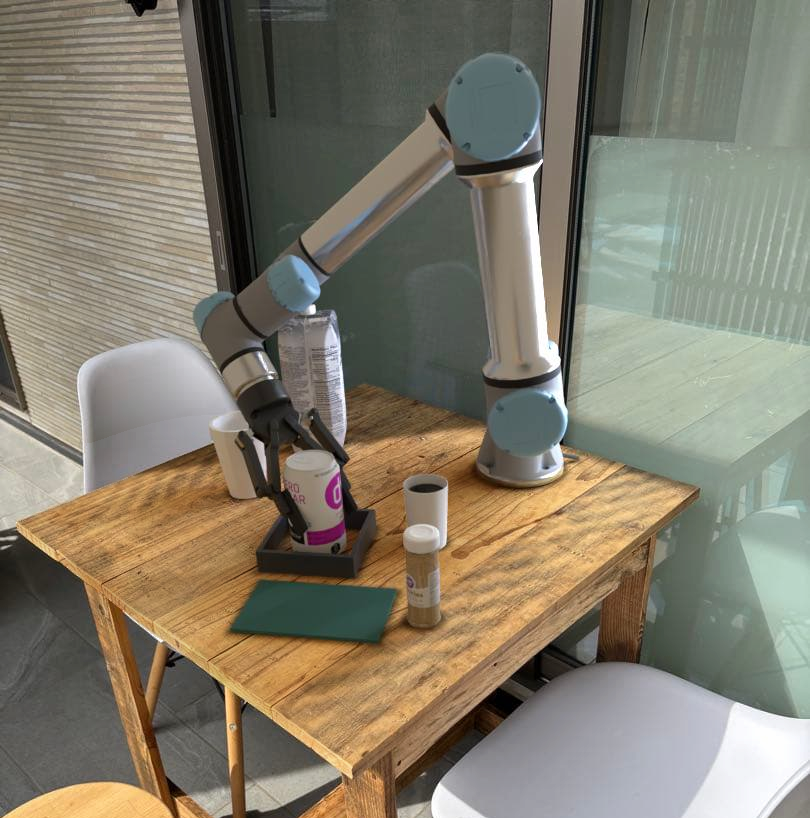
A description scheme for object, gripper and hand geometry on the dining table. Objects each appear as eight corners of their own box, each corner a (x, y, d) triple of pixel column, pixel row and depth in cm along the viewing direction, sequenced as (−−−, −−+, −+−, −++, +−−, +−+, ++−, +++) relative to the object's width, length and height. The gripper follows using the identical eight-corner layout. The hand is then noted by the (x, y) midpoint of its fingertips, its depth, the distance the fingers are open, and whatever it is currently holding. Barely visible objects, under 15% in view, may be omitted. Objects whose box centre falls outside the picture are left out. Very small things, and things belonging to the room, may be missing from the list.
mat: (397, 592, 118) (396, 588, 118) (378, 644, 108) (378, 640, 108) (260, 582, 122) (260, 579, 122) (230, 632, 112) (229, 628, 111)
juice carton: (346, 458, 157) (333, 313, 144) (290, 460, 158) (272, 316, 144) (349, 439, 165) (337, 299, 152) (295, 441, 166) (279, 302, 152)
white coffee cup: (418, 557, 126) (416, 498, 121) (398, 538, 131) (395, 480, 126) (457, 545, 128) (456, 486, 123) (436, 527, 134) (434, 469, 129)
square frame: (376, 528, 134) (375, 509, 132) (355, 578, 122) (353, 557, 120) (288, 523, 137) (286, 504, 135) (258, 572, 124) (255, 551, 123)
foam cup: (280, 478, 151) (271, 410, 145) (268, 503, 143) (258, 431, 137) (229, 478, 152) (217, 410, 146) (214, 502, 144) (201, 432, 138)
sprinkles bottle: (400, 621, 112) (395, 533, 105) (422, 606, 115) (418, 519, 108) (427, 634, 109) (423, 544, 103) (448, 617, 112) (446, 529, 106)
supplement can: (354, 539, 131) (347, 450, 124) (333, 567, 125) (324, 475, 117) (306, 533, 134) (296, 445, 126) (283, 559, 127) (271, 468, 120)
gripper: (308, 385, 135) (375, 508, 133) (188, 421, 124) (259, 556, 121) (323, 360, 129) (395, 488, 126) (199, 395, 118) (274, 537, 115)
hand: (328, 521), depth 124 cm, fingers closed on supplement can, 8 cm apart
